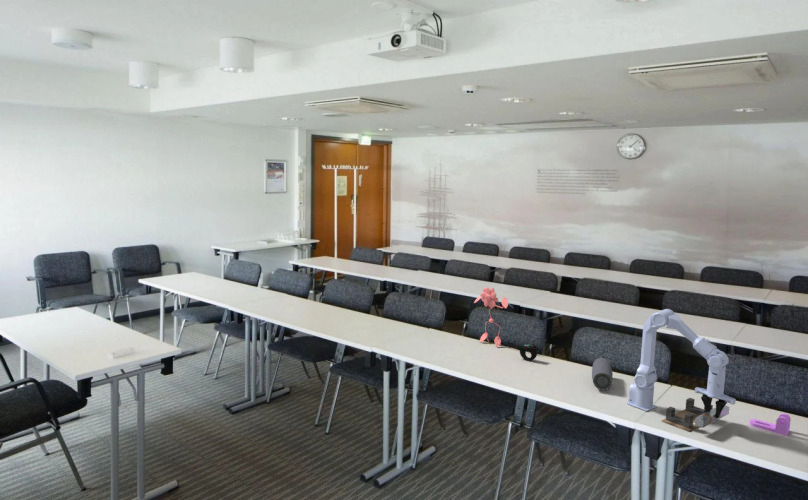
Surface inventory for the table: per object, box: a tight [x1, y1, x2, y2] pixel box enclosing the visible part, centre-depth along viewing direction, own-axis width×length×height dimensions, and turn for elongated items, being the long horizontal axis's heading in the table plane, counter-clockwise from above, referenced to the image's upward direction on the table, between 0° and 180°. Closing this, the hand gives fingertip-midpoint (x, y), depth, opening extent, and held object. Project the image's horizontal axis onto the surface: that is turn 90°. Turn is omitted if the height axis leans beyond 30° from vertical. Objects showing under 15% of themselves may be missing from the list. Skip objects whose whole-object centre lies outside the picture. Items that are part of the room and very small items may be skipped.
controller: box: [515, 342, 539, 362], centre depth 295 cm, size 4×12×10 cm, turn 53°
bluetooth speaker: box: [591, 357, 614, 391], centre depth 261 cm, size 23×9×10 cm, turn 161°
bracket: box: [748, 412, 792, 436], centre depth 217 cm, size 13×6×7 cm, turn 46°
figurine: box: [473, 286, 509, 348], centre depth 317 cm, size 15×26×35 cm, turn 40°
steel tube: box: [695, 405, 730, 428], centre depth 216 cm, size 3×22×3 cm, turn 126°
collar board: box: [661, 397, 714, 433], centre depth 224 cm, size 11×22×6 cm, turn 126°
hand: (712, 415), depth 216 cm, fingers closed on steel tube, 3 cm apart
